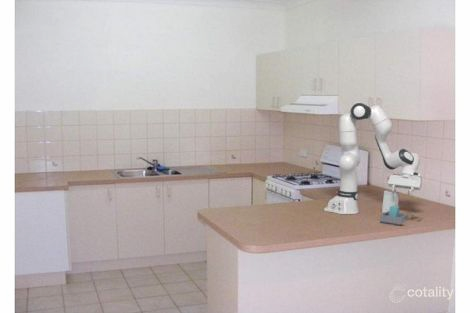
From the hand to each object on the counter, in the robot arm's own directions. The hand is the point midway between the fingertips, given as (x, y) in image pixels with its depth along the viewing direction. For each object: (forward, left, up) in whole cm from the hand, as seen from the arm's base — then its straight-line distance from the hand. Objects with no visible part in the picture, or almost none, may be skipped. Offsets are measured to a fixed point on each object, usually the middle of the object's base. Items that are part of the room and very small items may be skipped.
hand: (401, 193), depth 325 cm
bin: (0, -11, -17) cm, 20 cm away
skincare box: (-10, +10, -17) cm, 22 cm away
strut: (0, -11, -16) cm, 19 cm away
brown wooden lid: (+7, +2, -17) cm, 18 cm away
